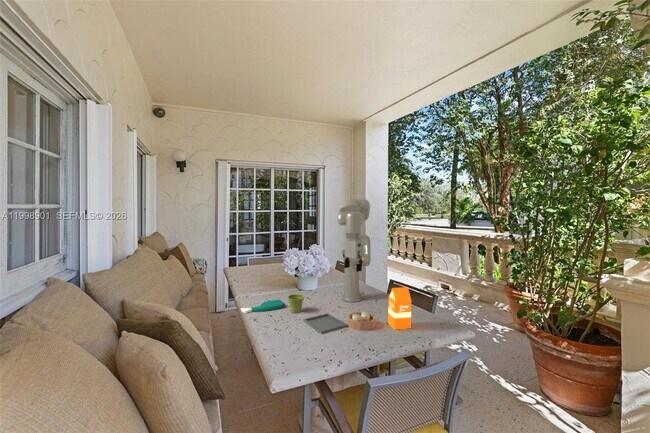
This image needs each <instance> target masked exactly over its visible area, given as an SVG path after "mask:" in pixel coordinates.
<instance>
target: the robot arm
mask: <svg viewBox="0 0 650 433" xmlns="http://www.w3.org/2000/svg"><path fill="white" fill-rule="evenodd" d="M370 210H371V204H370V202H369V200H368V199H365V198H364V199H363V198H362V199H361V198H359V199H357V198H356V199H355V198H353V199H349V200H348V201H347V202H346V204H345V206H343V207H340V208H339V209H338V212H337V223H338V224H339V226H344V227H345V241H344V242H345V243H344V249H343V250H342V251H341V253H342V257H343V264H344V265H343V266H344V282H343V283H344V288H343V289H344V290H343V295H342V296H341V301H345V302H348V303H357V302H360V301H362V297H361V296H363V295H365V291H360V272H362V269H363V267H367V266H370V264H371V260H372V258H371V254H372V253H371V251H372V250H371V248H372V247H371V238H370V235H367V234H361V233H362V231H361V230H362V225H363V223H364V222H365V221H368V220H369V217H370Z"/></svg>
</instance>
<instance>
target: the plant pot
mask: <svg viewBox="0 0 650 433" xmlns="http://www.w3.org/2000/svg"><path fill="white" fill-rule="evenodd" d="M304 298H305V296H304V294H301V293H295V294H294V293H293V294H290V295H288V296H287V299H288V303H289V310H290V313H292V314H298V313H299V314H300V313H301V312H302V307H303V301H304Z"/></svg>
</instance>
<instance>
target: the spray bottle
mask: <svg viewBox="0 0 650 433" xmlns="http://www.w3.org/2000/svg"><path fill="white" fill-rule="evenodd" d="M285 308H286V303H285V302H284V301H282V300H281V299H274V300H267V301H263V302H262V303H261V304H260V305H259V306H254V307H253V306H251V307H250V306H249V307H246V308H245V307H241V308H240V311H241V312H242V313H243V314H248V313H251V312H254V313H255V312H257V313H258V312H260V313H261V312H270V311H275V310H281V309H285Z"/></svg>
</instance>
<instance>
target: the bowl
mask: <svg viewBox="0 0 650 433" xmlns="http://www.w3.org/2000/svg"><path fill="white" fill-rule="evenodd" d="M362 312H363V311H355V312H351V313H349V314H348V315H347V327H349V328H351V330H352V329H353V330H356V331H360V332H361V331H370V330H373V329H374V328H375V326H376V317H375V316H374V315H373V314H371V313H370V321H368V322H359V321H354V320H352V315H353V314H360V315H361V313H362Z"/></svg>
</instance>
